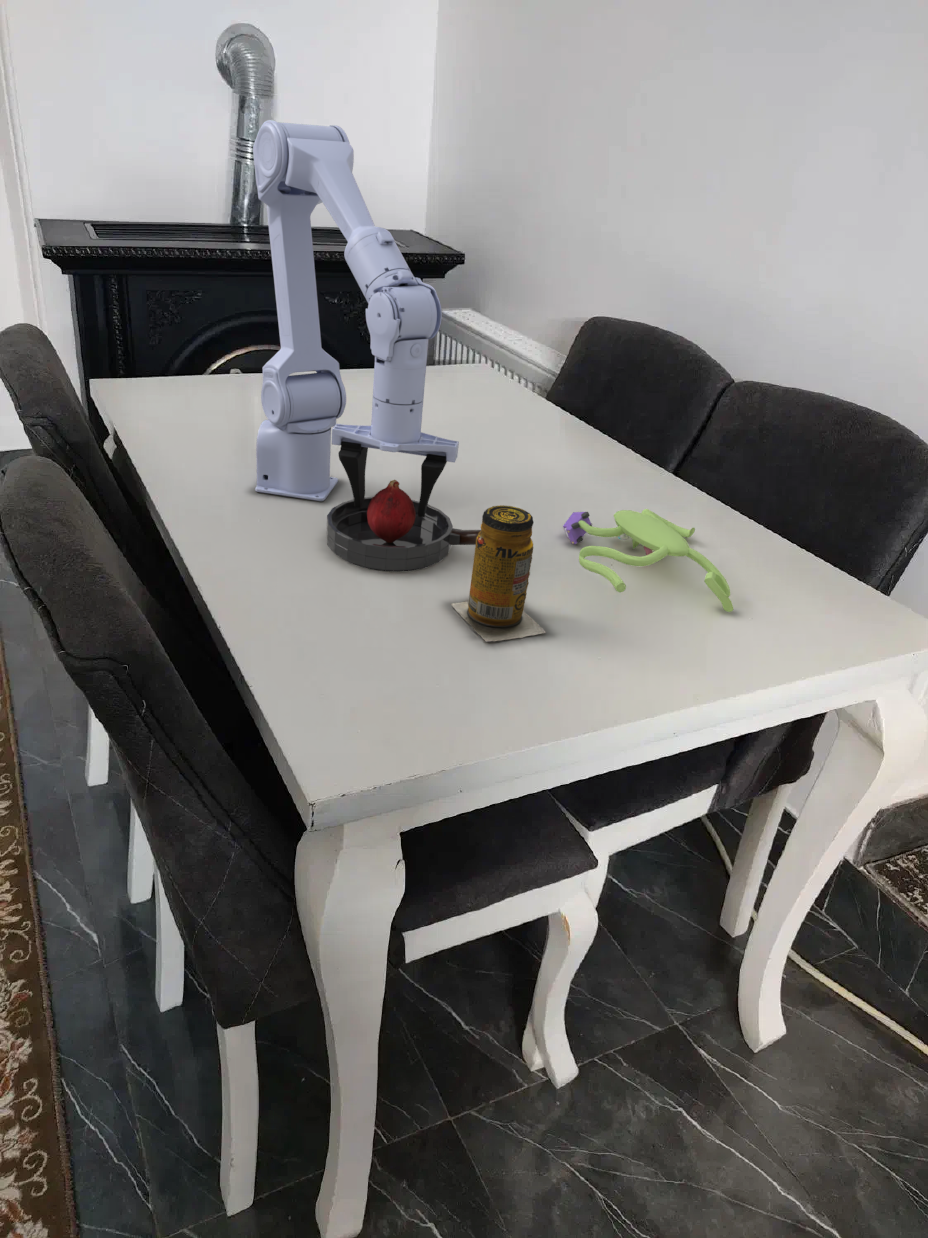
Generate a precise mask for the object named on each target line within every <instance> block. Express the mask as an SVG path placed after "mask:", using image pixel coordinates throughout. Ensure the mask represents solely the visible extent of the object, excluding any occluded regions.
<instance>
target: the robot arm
mask: <svg viewBox="0 0 928 1238" xmlns="http://www.w3.org/2000/svg"><path fill="white" fill-rule="evenodd" d="M252 155H253V165H254V171H255V172H254V173H255V174H254V175H255V183H256V188H257V198H258V200H259V201H261V202H262V203H263V204H264V205H266V217H267V225H268V234H269V244H270V255H271V264H272V273H273V284H274V285H273V286H274V295H275V303H276V314H277V322H278V324H277V325H278V333H279V343H280V349H279V350H278V351H277V352H276V353H275V354H274V355H273V356H272V357H271V358H270V359H269V360H268V361H267V362H266V363H265V364H264V365H263V366H262V369H261V370H262V386H261V391H260V401H261V402H260V403H261V407H262V410H263V413H264V415H265V417H266V418H267V419H264V420H263V421H262V422H261V423H260V425H259V428H258V431H257V437H256V445H255V449H256V450H255V451H256V452H255V453H256V454H255V455H256V457H255V458H256V486H255V487H254V491H255V492H258V493H263V494H270V495H276V496H283V497H291V498H298V499H304V500H311V501H317V502H324V501H325V500H326V499H327V498H328V496H329V495H330V493H331V492H332V491H333V489H334V488H335V487H336V485H337V484H338V483H339V478H338V477H335V476H334V477H333V476H330V475H331V450H332V449H331V446H332V445H334V446H340V449H339V451H338V452H337V453H338V459H339V462H340V463H341V465H342V467H343V469H344V471H345V474H346V475H347V478H348V481H349V484H350V488H351V492H352V495H353V499H354V504H355V507H361V505H362V504H363V502H364V498H365V497H366V469H367V468H366V467H367V459H368V451H369V449H375V450H380V451H382V452H388V453H401V454H407V455H416V456H423V457H425V458H424V460H423V461H422V463H421V468H420V470H421V471H420V472H421V474H420V475H421V476H420V495H419V500H418V502H419V507H418V516H419V517H424V515H425V513H426V511H427V505H428V504H429V501H430V498H431V495H432V493H433V489H434V487H435V484H436V483H437V481H438V480H439V478H440V476H441V475H442V473H443V471H444V469H445V467H446V465H447V463H456V461H457V459H458V454H459V444H460V441H457V440H453V439H448V438H445V437H444V438H443V437H440V436H437V435H433V434H429V433H426V432H422V424H423V423H422V422H423V409H424V398H425V385H426V375H427V364H428V363H427V362H428V349H429V340H432V339H433V338H435V337H436V336H437V335H438V333H439V331H440V328H441V325H442V320H443V311H442V304H441V301H440V299H439V296H438V293H437V291H436V289H435V287H433V286H432V285H431V284H429V283H425V282H424V281H422V279H421V278H420V277H415V276H414V274H413V272H412V271H411V268H410V267H409V265H408V263H407V261H406V259H405V258H404V256H403V254H402V252H401V250H400V248H399V246H398V245H397V243H396V241H395V238H394V237H393V235H392V233H391V232H390V231H389V230H388V229H386V228H384V227H381V226H376V225H375V223H374V220H373V218H372V216H371V213H370V211H369V209H368V205H367V204H366V201H365V199H364V197H363V195H362V191H361V190H360V186H358V183H357V181H356V178H355V176H354V173H353V170H354V163H355V159H354V158H355V151H354V148H353V146H352V145H351V143H350V140H349V138H348V136H347V133H346V132H345V130H344V129H343V128H342V127H341V126H340V125H335V124H332V125H317V124H304V123H292V122H281V121H276V119H275V120H273V119H267V120H265V121H264V122H263V123H262V124H261V126H260V128H259V129H258V132H257V135H256V138H255V140H254V142H253V145H252ZM320 204H323V205H324V207H325V209H326V211H327V212H328V213H329V215H330V216H331V218H332V219H333V221H334V223H335V224H336V226H337V227H338V229H339V231H340V233H342V235H343V237H344V239H345V240H346V241H347V243H346V246H345V248H344V252H343V253H344V254H343V255H344V259H345V262H346V263H347V264H346V265H347V266H348V267H349V269H350V271H351V273H352V275H353V277H354V279H355V282H356V283H357V285H358V287H359V288H360V291H361V292H362V294H363V296H364V298H365V300H366V303H367V304H368V305H367V308H365V321H366V326H367V329H368V332H369V335H370V350H371V354H372V356H374V367H373V385H372V386H373V387H372V402H371V403H372V404H371V405H372V407H371V423H370V425H361V424H359V425H358V424H343V423H337V419H339V418H341V417H342V415H343V414H344V413H345V409H346V405H347V391H346V387H345V384H344V382H343V379H342V374H341V370H340V363H339V361H338V360H337V359H335V358H334V357H332V355H330V354H329V353H328V352H326V351H325V350H324V348H322V337H321V325H320V313H319V301H318V290H317V279H316V269H315V268H316V267H315V255H314V245H313V233H312V232H313V231H312V223H311V215H312V213H313V212H314V210H315V208H317V205H320ZM313 371H315V372H313ZM303 372H312V373H304V374H295V373H303ZM292 374H293V375H292Z"/></svg>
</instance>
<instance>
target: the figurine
mask: <svg viewBox="0 0 928 1238" xmlns="http://www.w3.org/2000/svg"><path fill="white" fill-rule="evenodd" d="M590 516H591V515H590V512H589V511H573V512H572V513H571V514H570V515H569V517H568V518H567V520H566V521H565V522H564V524H563V525H562V528H563V530H564V533H565V536H566V537H567V539H569V542H570V543H571V545H577V544H578V543H581V542H583V541H584V536H585V535H586V534H589V535H590V536H594V537H600V538H616V537H617V539H619V540H622V541H626V540H628V539H629V538H630V539H631V542H632V543H631V544H632V545H631V546H632V550H635V549H636V548H638V546H642V547H643V549H644V552H645V555H642V556H638V555H637V556H636V555H630V554H626V553H624V552H621V551H619V550H617V549H615V548H612V547H607V546H600V545H589V546H588V545H587V546H584V547H582V548H581V549H580V551H579V553H578V562H579V565H580V566H581V567H582V568H583V569H585V570H587V571H589V572H592V573H594V574H597V575H600V576H601V577H603V578H605V579H606V580H607V581H609V582H610V584H611V585H612V586H613V588H614V589H615V591H616V592H618V593H623V592H624V591H625V590H626V589H627V585H626V584H625V582H624V580H623V579H622V578H621V577H620V575H619V574H618V573H616V572H615V571H614V570H613V569H611V568H610V567H608V566H606V565H604V564H602V563H599V562H595V561H593V560H590V559H586V558H588V557H592V556H593V557H603V558H609V559H612V560H614V561H617V562H619V563H622V564H624V565H626V566H632V567H647V566H651V565H653V564H656V563H657V562H659V561H660V560H662V559H665V558H666V557H667V556H670V557H687V558H688V559H690V560H692V561H694V562H695V563H697V564H698V565H699V566H700V567H701V568H702V569H704V571H705V572H706V573H705V577H704V580H703V581H704V583H705V585H706V587H707V588H708V589H709V590H710V591H711V592H712V593H713V594H714V595H715V596H716V597H717V598H718V600H719V602H720V603H721V606H722V608H723V610H724V611H725V612H727V613H732V612H733V611H734V606H733V602H732V600H731V598H730V596H731V588H730V585H729V584H728V581H727V579H726V577H725V576H724V575H723V574H722V572H721V571H720V570H719V569H718V568H717V567H716V566H715V564H713V562H712V561H710V559H708V558H707V557H706V556H705V555H703V553H700V552H699V551H698V550H696V549H694V548H691V547H690V545H689V543H688V541H687V540H686V539H687V538H688V539H689V538H691V537H693V535H694V533H695V531H696V527H691V528H690V529H688V528H685V527H683V526H679V525H677V524H675V523H673V522H672V521H669V520H668V519H666V518H663V517H661V516H660V515H658V514H657V513H656V512H653V511H652V510H650V509H648V508H644V509H642V510H641V512H639V511H635V510H632V509H622V510H618V511H616V512H615V513H614V514H613V518H614V521H615V524H616V527H596V526H593V523H592V521H591V520H590ZM685 538H686V539H685Z"/></svg>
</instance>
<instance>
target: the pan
mask: <svg viewBox="0 0 928 1238" xmlns="http://www.w3.org/2000/svg"><path fill="white" fill-rule="evenodd" d="M373 497H374V496H365V498H364V502H363V504H362V505H361V507H355V504H354V498H353V499H350V500H346V501H342V502H341V503H339V504H337V505H335V506H334V507H332V508H331V509H330V511H329V512H328V514H327V515H326V544H327V547H328V548H329V549H330V550H331V551H332V552H333V554H334V555H336V556H338V557H339V558H341V559H342V560H343V561H345V562H347V563H349V564H351V565H354V566H356V567H360V568H363V569H366V570H367V569H368V570H372V571H378V572H386V573H388V572H389V573H404V572H413V571H418V570H423V569H426V568H429V567H432V566H434V565H436V564H438V563H440V562H441V561H443V560H444V559H445V558H447V557H448V555H449V553H450V550H451V548H452V545H450V544H449V541H450V534H451V531H452V528H454V525H453V523H452V520H451V518H450V516H448V515H447V514H446V513H445V512H444V511H442V510H441V509H438V508H437V507H435V506H433V505H430V504H429V503H428V505H427V511H426V513H425V515H424V517H419V516H418V507H419V500H415V499H411V500H412V502H413V505H414V508H415V521H414V524H413V526H412V528H411V529H410V530H409V532H408V533H407V534H405V535H404V536H402V537H401V538H399V539H397V540H396V541H394V542H392V543H388V542H386V541H384V540H382V539H381V538H379V537H378V536H377V535H376V534H375V533H374V532H373V531H372V530H371V528H370V526H369V524H368V519H367V509H368V505H369V503H370V501H371V499H372V498H373Z"/></svg>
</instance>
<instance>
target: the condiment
mask: <svg viewBox="0 0 928 1238" xmlns="http://www.w3.org/2000/svg"><path fill="white" fill-rule="evenodd" d="M481 518H482V519H481V524H480V530H481V532H480V533H479V534H478V535H477V538H476V545H474V554H473V560H472V561H473V562H472V570H471V578H470V586H469V594H468V601H461V602H455V603H454V602H453V603H450V605H451V606H452V608H454V610H455V611H456V612H457V613H458V614H459V615H460V617H461V618H462V619H464V621H465V622H466V623H467V624H468V625H470V626H471V628H472V629H473V630H474V631H475V632H476V634H477V635H479V636H480V637H481V638H482V639H483V640H484V642H487V643H488V642H499V641H504V640H505V641H506V640H507V641H509V640H515V639H522V638H526V637H529V636H537V635H540V634H546V633H547V632H546V631H545V630H544V628H543V627H541V626H540V625H539V624H538V622H536V621H535V620H534V619H533V618H532V617H531V616H530V615H529V614H527V613H526V612H525V611H524V609H525V603H526V598H527V591H528V586H529V583H530V582H529V578H530V576H531V572H530V571H531V567H532V561H533V553H534V542H533V539H532V536H533V526H534V517H533V516H532V514H531V513H530V512H529V511H527V510H526V509H523V508H520V507H517V506H512V505H504V504H503V505H502V504H500V505H492V506H490V507H488V508H486V509H485V510H484V511H483V513H482V515H481Z"/></svg>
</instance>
